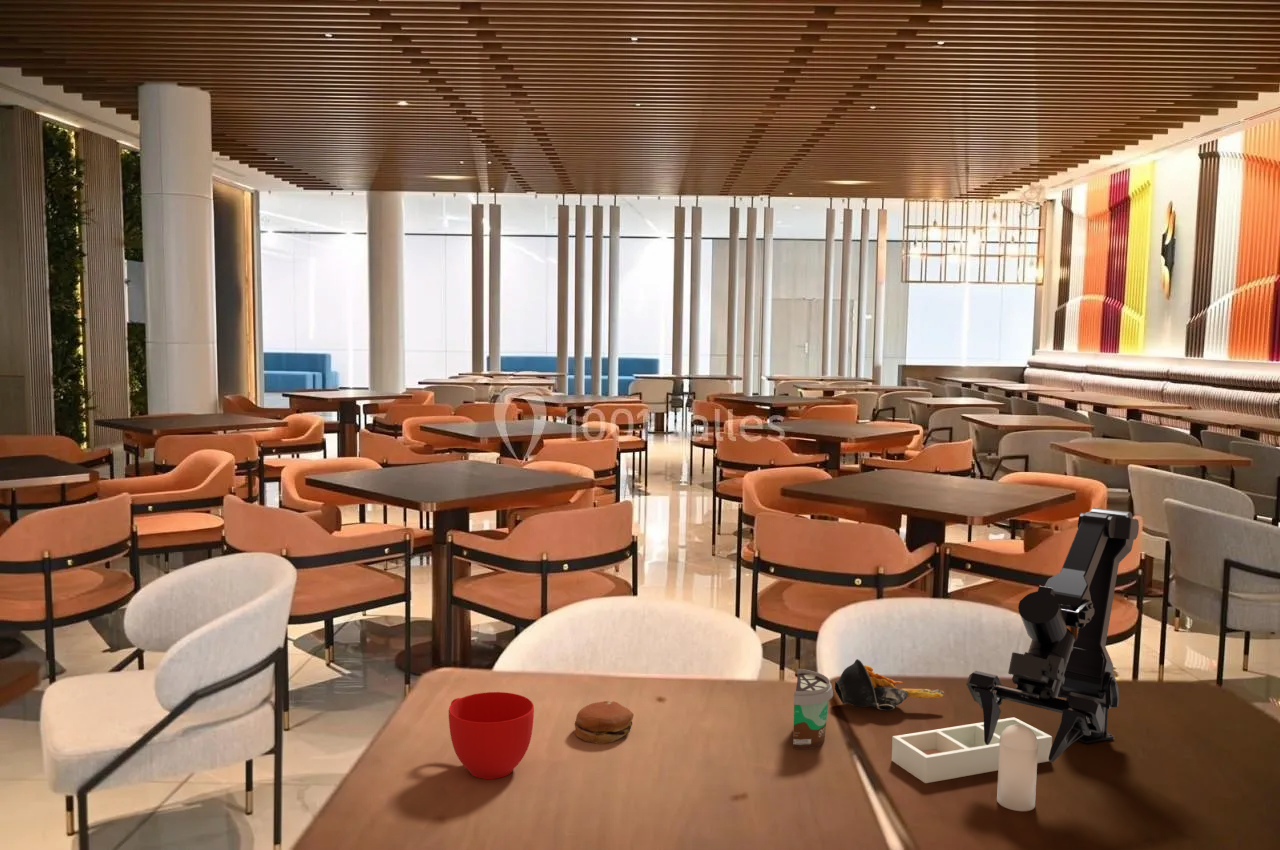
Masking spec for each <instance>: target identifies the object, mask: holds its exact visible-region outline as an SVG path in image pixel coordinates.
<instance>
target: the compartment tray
mask: <svg viewBox="0 0 1280 850" xmlns="http://www.w3.org/2000/svg"><path fill="white" fill-rule="evenodd" d="M1014 724H1020V725H1024V726H1026V727H1028V728H1029V729H1031V730H1032V731H1033V733H1034V734H1035V736H1036V738H1037V741H1038V756H1037V764H1040V763H1041V764H1042V763H1046V762H1050V761H1049V754H1050V750H1051V747H1052V744H1053V736H1052V735H1050V734H1048V733H1046V732H1044V731H1042V730H1040V729H1039V728H1036V727H1035V726H1032V725H1030V724H1028V723H1026V722H1024V721H1022V720H1021V719H1018V718H1016V717H1007V718H1002V719H1001V718H999V719H998V722H997V725H996V728H995V731H994V734H993V737H992V739H991V741H990V743H989V745H986V744H985V741H984V721H983V722H982V721H981V722H976V723H970V724H962V725H956V726H951V727H950V726H949V727H944V728H938V729H932V730H931V729H930V730H925V731H924V730H923V731H918V732H912V733H907V734H906V733H905V734H899V735H898V734H897V735H892V739H891V741H892V742H891V743H892V744H891V762H893V763H894V764H895V765H897V766H899V767H900V768H902V769H903V770H904V771H906V772H907V773H910V775H912V776H914V777H915V778H916V779H918V780H919V781H921V782H923V783H924V784H929V783H935V782H940V781H945V780H946V781H947V780H951V779H957V778H962V777H967V776H974V775H980V774H984V773H990V772H997V771H998V766H999V744H1000V736H1001V733H1002V732H1003V730H1004V729H1005V728H1006V727H1008V726H1010V725H1014Z"/></svg>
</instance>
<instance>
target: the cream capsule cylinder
mask: <svg viewBox="0 0 1280 850" xmlns="http://www.w3.org/2000/svg"><path fill="white" fill-rule="evenodd" d="M1037 756H1038V741H1037V738H1036V736H1035V734H1034V733H1033V731H1032V730H1031V729H1029V728H1028V727H1026V726H1024V725H1020V724H1014V725H1010V726H1008V727H1006V728H1005V729H1004V730H1003V732H1002V733H1001V736H1000V744H999V766H998V770H997V771H998V772H997V786H996V787H997V791H996V793H997V794H996V795H997V796H996V802H997V803H998V804H999V805H1000V806H1001V807H1002V808H1006V809H1008V810H1012V811H1015V812H1016V811H1017V812H1029V811H1032V810H1034V809H1035V807H1036V792H1037V776H1038V775H1037V772H1038V770H1037V769H1038V763H1037Z"/></svg>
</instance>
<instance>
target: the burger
mask: <svg viewBox="0 0 1280 850" xmlns="http://www.w3.org/2000/svg"><path fill="white" fill-rule="evenodd" d="M633 719H634V713H633V711H631V710H630V709H629V708H627V707H625V706H623V705H622V704H620V703H618V702H616V701H609V700H607V701H598V702H597V701H596V702H593V703H589V704H587V705H586V706H584V707H582V708H581V709H580V710H579V711H578V712H577V714H576V719H575V721H574V728H575V730H574V731H575V736H576V737H577V738H578V739H581V740H583V741H585V742H588V743H592V744H599V745H600V744H602V745H603V744H604V745H606V744H610V743H613V742H616V741H618V740H619V739H621V738H623V737H624V736H626V735H627V734H629V733H630V731H631V729H632V725H633Z"/></svg>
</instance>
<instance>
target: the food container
mask: <svg viewBox="0 0 1280 850" xmlns="http://www.w3.org/2000/svg"><path fill="white" fill-rule="evenodd" d="M833 697H834V691H833V687H832V683H831V681H830V679H829V677H827V675H825V674H822V673H820V672H817V671H813V670H809V669H803V668H797V680H796V688H795V690H794V695H793V729H792V730H793V733H792V734H793V736H792V739H793V740H792V742H793V743H792V749H794V750H795V749H796V750H797V749H798V750H805V749H806V750H807V749H808V750H809V749H813V748H818V747H819V746H821V745H823V744H824V743H825V738H826V728H827V722H828V720H827V719H828V708H829V701H830V700H831V699H832V698H833Z"/></svg>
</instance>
